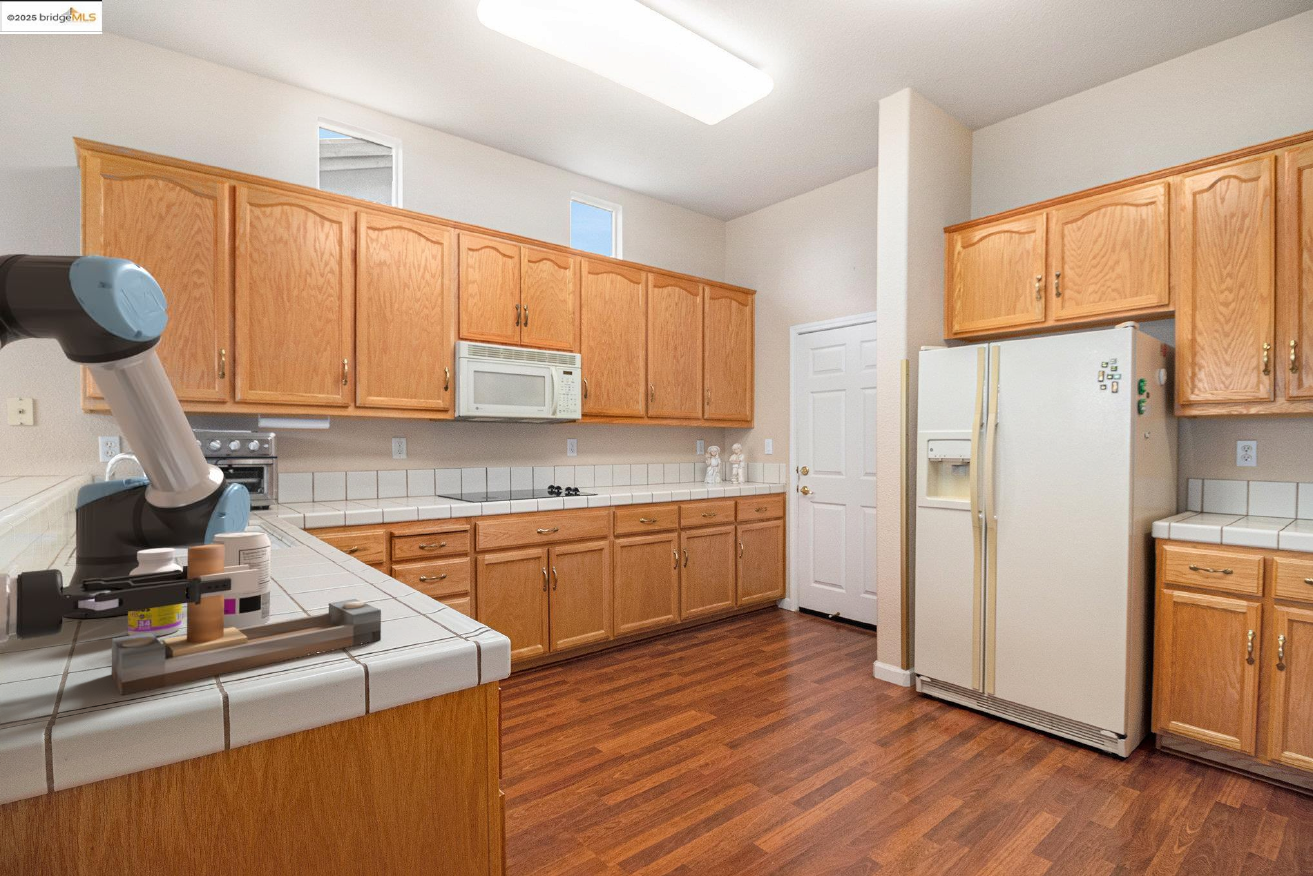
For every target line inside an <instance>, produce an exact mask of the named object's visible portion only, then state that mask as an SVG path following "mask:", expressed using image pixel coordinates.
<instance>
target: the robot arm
mask: <svg viewBox="0 0 1313 876" xmlns="http://www.w3.org/2000/svg"><path fill="white" fill-rule="evenodd" d="M166 300H167V299H166V297H165V295H164V292H163V290H162V289H161V286H160V285H159V283H158V282H157V281H156V279H155V277H153V275H152V274H151V273H150V272H149V271H147V270H146V269H145V268H144V267H142V266H141V265H139V264H137V263H135V262H133V261H131V260H130V259H126V258H120V257H111V256H110V257H109V256H108V257H107V256H106V255H105V256H103V255H99V254H87V255H59V254H58V255H56V254H55V255H53V254H52V255H51V254H50V255H48V254H45V255H44V254H43V255H42V254H27V253H24V254H23V253H19V254H18V253H12V254H11V253H10V254H9V253H8V254H4V255H0V351H1V350H2V349H3V348H4V347H6V345H8V344H11V343H13V342H17V341H21V340H22V341H23V340H26V339H27V340H28V339H48V340H49V339H52V340H56V341H57V342H58V344H59V346H60V348H61V349H62V351H63V352H64V355H65V357H66V358H67V359H68V361H70V362H71V363H73V364H77V365H79V366H80V365H81V366H82V367H87V369H88V371H89V373H90V375H91V377H92V379H93V381H94V383H95V385H96V386H97V388H98V389H99V392H100V393H101V395H102V397H103V399H104V401H105V402H106V405H107V406H108V408H109V410H110V412H111V414H112V416H113V418H114V419H115V422H116V423H117V424H118V427H119V429H120V431H121V433H122V434H123V436H124V438H125V440H126V441H127V444H128V445H129V447H130V449H131V451H132V453H133V455H134V456H135V458H136V460H137V462H138V463H139V465H140V467H141V470H142V472H143V473H144V474H145V475H144V476H142V477H140V476H139V477H133V478H132V477H131V478H122V479H113V480H106V481H105V480H104V481H97V482H92V483H87V484H84V485H83V486H81V487H80V488H79V489H78V492H77V499H76V506H75V508H74V512H75V570H74V573H73V574H72V576H71V579H70V582H69V584H68V586H64V583H63V573H62V571H61V570H60V569H57V568H53V569H50V568H49V569H42V570H32V571H31V570H30V571H23V572H21V573H20V574H17V576H16V577H10V574H8V573H0V643H6V642H7V641H8V640H10V636H14V635H16V639H20V640H21V641H23V640H28V639H29V640H30V639H37V638H42V637H48V636H55V635H58V634H59V633H60V632H61V631H62V628H63V617H65V618H72V619H73V618H74V619H75V618H76V619H91V618H95V619H96V618H105V617H114V616H124V615H128V612H129V611H136V610H142V609H149V608H156V607H163V606H169V605H176V604H182V605H183V604H187V603H194V602H195V605H198V604H201V598H202V597H209V596H216V595H224V594H231V593H238V592H245V591H253V590H258V589H259V570H258V569H252V570H249V565H239V566H230V567H224V573H219V574H210V575H202V576H199V578H193V579H187V569H188V565H182V570H174V571H166V572H157V573H147V574H138V575H129V574H130V572H131V571H132V570H133V569H135V568H137V567H138V566H139V562H138V560H137V552H138V551H142V550H148V549H157V548H173V549H175V550H176V549H177V550H180V549H182V550H183V549H184V550H185V549H187V550H188V548H190V547H195V546H203V545H210V544H211V543H212V541H213V539H214V536H215V535H217V534H222V533H229V532H242V531H245V530H246V527H247V525H248V522H249V518H250V512H251V499H250V498H251V495H250V494H249V493H250V492H249V490H248V488H247V487H246V486H245V485H244V484H239V483H237V482H233V483H229V482H228V481H227V479H226V477H225V475H224V473H223V470H222V469H221V468H220V467H218V466H217V465H214V464H211V463H208V462H207V459H206V458H205V455H204V452H203V451H202V449H201V447H200V444H199V442H198V440H197V438H196V435H195V433H194V431H193V429H192V427H191V425H190V423H189V421H188V418H187V416H186V414H185V412H184V410H183V408H182V406H181V403H180V401H179V399H178V396H177V395H176V393H175V390H174V388H173V387H172V384H171V382H170V380H169V378H168V375H167V373H166V371H165V369H164V366H163V365H162V362H161V359H160V358H159V356H158V353H157V351H156V349H157V347H158V346H159V345H160V344H161V341H162V335H161V334H162V333H163V332H164V331H165V329H166V326H167V325H168V319H169V315H168V314H167V312H166V310H168V305H167V304H168V303H167V301H166Z"/></svg>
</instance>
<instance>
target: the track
mask: <svg viewBox="0 0 1313 876" xmlns="http://www.w3.org/2000/svg"><path fill="white" fill-rule="evenodd" d="M237 630H239V631H240V632H241V633H243V634H244V635H245V636H247V637H248V640H247V644H242V645H237V646H232V647H226V648H221V649H216V650H210V651H205V652H200V653H195V654H189V655H184V656H179V657H173V658H168V659H166V658H165V648H164V647H163V641H159V639H158V638H157V637H155V636H154V635H153V633H152V632H150V633H143V634H137V635H131V636H130V635H126V636H121V637H115V638H111V676H112V678H113V680H114V681H115V684H116V685H117V688H118V691H119V692H120V695H122V694H126V695H130V694H133V693H132V692H135V693H138V691H140V692H144V691H148V689H149V690H155V689H158V688H163V687H167V686H172V685H178V684H181V683H186V682H191V681H195V680H200V679H204V678H209V677H210V678H211V677H214V676H219V675H223V674H228V673H233V672H237V671H243V670H247V669H252V668H256V667H261V666H260V665H262V666H265V665H270V663H271V664H275V663H274V662H276V663H280V662H284V661H283V660H285V661H288V660H287V659H290V660H292V659H291V658H294V659H297V658H296V657H299V658H301V657H300V656H304V657H306V656H305V655H308V654H313V655H315V654H314V653H317V652H322V653H324V652H323V651H327V652H330V651H329V650H332V649H337V650H339V649H338V648H341V649H344V648H343V647H346V648H350V647H349V646H351V645H355V646H359V645H358V644H360V645H362V644H361V643H365V644H368V643H367V642H369V643H373V641H374V642H377V641H376V640H379V641H381V639H382V638H381V637H382V634H381V633H382V631H381V630H382V610H381V609H380V608H377V607H375V606H373V605H370V604H368V603H366V602H365V601H361V600H358V599H357V598H351V599H346V600H340V601H335V602H328V612H327V613H320V614H315V615H308V616H302V617H298V618H292V619H285V620H280V621H273V622H267V623H266V624H262V625H256V626H250V627H244V628H238V629H237ZM351 647H352V646H351ZM332 651H333V650H332ZM308 656H309V655H308Z"/></svg>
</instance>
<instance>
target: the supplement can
mask: <svg viewBox="0 0 1313 876" xmlns="http://www.w3.org/2000/svg"><path fill="white" fill-rule="evenodd" d="M210 545H224V546H225V553H224V567H230V566H239V565H249V570H252V569H258V570H259V589H258V590H253V591H245V592H238V593H231V594H224V629H225V628H230V627H235V628H236V629H238V628H244V627H250V626H256V625H262V624H265V623H266V624H267V623H269V622H270V620H271V619H270V618H271V616H270V615H271V612H270V611H271V540H270V538H269V537H268V535H267V531H263V530H261V531H260V530H246V531H245V530H244V531H242V532H229V533H222V534H217V535H215V536H214V539H213V541H212V543H211V544H210Z"/></svg>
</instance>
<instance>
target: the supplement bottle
mask: <svg viewBox="0 0 1313 876" xmlns="http://www.w3.org/2000/svg"><path fill="white" fill-rule="evenodd" d="M175 557H176V549H173V548H157V549H148V550H142V551H138V552H137V560H138V562H139V566H138V567H137V568H135V569H133V570H132V571H131V572H130V574H129V575H138V574H147V573H157V572H166V571H174V570H182V571H183V567H181V566H180V565H179V564H176V563H174V560H175ZM182 616H183V604H176V605H169V606H163V607H156V608H149V609H142V610H136V611H129V612H128V614H127V634H128V636H131V635H137V634H143V633H150V632H152V633H153V635H154V636H155V637H156V638H157V637H161V636H165V635H166V636H167V635H169V634H173V633H175V632H178V631H179V630H180V629H181V627H182V623H183V622H182V621H183V620H182V619H183V617H182Z"/></svg>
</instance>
